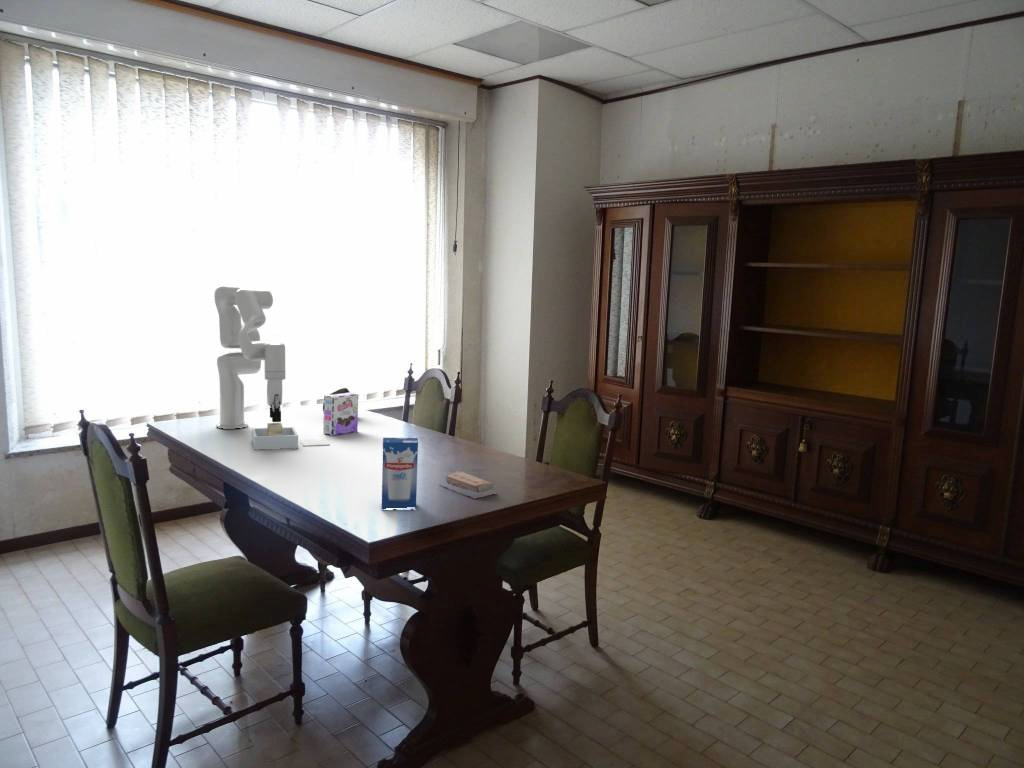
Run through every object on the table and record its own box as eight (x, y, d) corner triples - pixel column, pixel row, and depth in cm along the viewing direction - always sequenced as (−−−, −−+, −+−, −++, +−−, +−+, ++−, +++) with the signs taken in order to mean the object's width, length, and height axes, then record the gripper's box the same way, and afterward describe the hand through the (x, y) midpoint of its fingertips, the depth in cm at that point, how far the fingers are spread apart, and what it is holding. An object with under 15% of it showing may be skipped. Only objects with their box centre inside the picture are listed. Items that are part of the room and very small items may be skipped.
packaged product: (498, 480, 232) (474, 485, 225) (498, 495, 233) (473, 501, 226) (463, 468, 245) (438, 472, 238) (462, 482, 246) (438, 487, 239)
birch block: (267, 438, 285) (267, 423, 284) (280, 437, 287) (280, 422, 286) (268, 441, 280) (268, 425, 280) (282, 440, 282) (282, 425, 282)
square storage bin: (252, 441, 288) (252, 428, 287) (293, 439, 294) (293, 427, 293) (254, 450, 274) (254, 437, 273) (298, 448, 280) (298, 435, 279)
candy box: (332, 436, 303) (332, 396, 301) (322, 434, 307) (323, 394, 304) (358, 431, 314) (358, 393, 312) (348, 429, 317) (349, 391, 315)
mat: (300, 440, 292) (300, 439, 292) (325, 439, 296) (325, 438, 296) (303, 446, 283) (303, 445, 283) (329, 445, 287) (329, 444, 287)
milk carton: (415, 503, 219) (417, 437, 216) (416, 510, 213) (418, 442, 210) (381, 503, 217) (383, 437, 215) (381, 510, 211) (382, 442, 208)
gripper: (262, 372, 287) (263, 416, 289) (266, 378, 271) (266, 424, 273) (283, 372, 289) (283, 415, 292) (287, 377, 274) (288, 423, 276)
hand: (275, 419), depth 282 cm, fingers open, 9 cm apart
